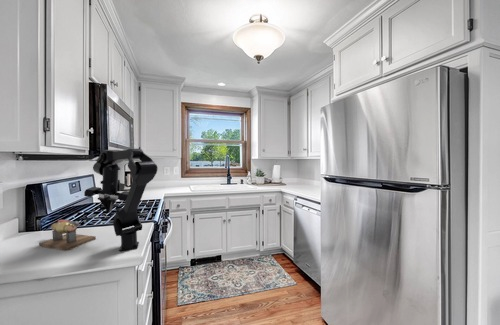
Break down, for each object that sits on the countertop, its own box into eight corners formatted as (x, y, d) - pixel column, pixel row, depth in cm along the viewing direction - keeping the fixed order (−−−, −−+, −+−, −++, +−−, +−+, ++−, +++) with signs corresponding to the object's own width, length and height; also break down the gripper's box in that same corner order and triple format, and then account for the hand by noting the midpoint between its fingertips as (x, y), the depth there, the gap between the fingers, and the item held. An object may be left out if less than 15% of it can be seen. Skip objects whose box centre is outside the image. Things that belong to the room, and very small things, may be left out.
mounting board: (95, 239, 101) (95, 236, 101) (67, 250, 90) (67, 247, 90) (69, 235, 106) (69, 233, 106) (39, 246, 95) (39, 243, 94)
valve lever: (79, 221, 101) (61, 219, 105) (75, 222, 100) (57, 220, 103) (79, 225, 101) (61, 224, 105) (76, 227, 100) (58, 225, 103)
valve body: (83, 238, 99) (82, 220, 98) (67, 244, 93) (66, 224, 92) (65, 236, 102) (64, 218, 101) (48, 242, 96) (47, 222, 95)
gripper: (140, 177, 107) (138, 208, 110) (101, 172, 107) (99, 203, 109) (128, 182, 96) (126, 217, 99) (83, 177, 96) (82, 212, 98)
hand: (108, 212), depth 101 cm, fingers closed
